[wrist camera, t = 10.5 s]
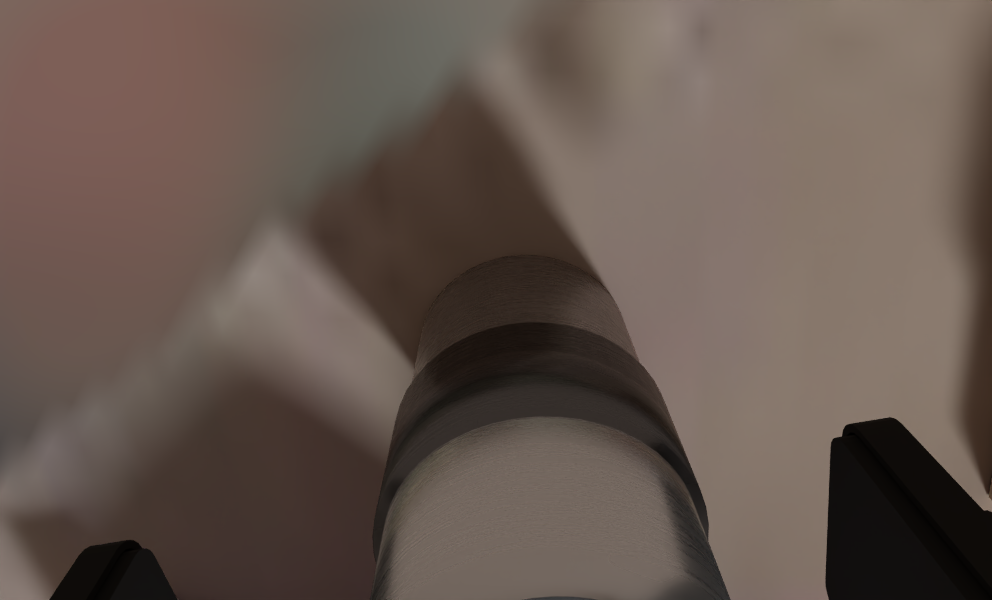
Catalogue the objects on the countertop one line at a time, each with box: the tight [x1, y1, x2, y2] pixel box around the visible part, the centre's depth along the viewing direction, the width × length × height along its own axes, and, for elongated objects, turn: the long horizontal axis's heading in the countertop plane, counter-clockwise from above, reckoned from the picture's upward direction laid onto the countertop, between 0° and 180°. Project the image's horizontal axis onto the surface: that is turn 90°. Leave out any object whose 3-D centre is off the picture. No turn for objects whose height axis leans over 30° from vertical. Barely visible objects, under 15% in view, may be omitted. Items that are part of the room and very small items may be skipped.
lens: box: [370, 255, 730, 600], centre depth 11 cm, size 5×5×8 cm
